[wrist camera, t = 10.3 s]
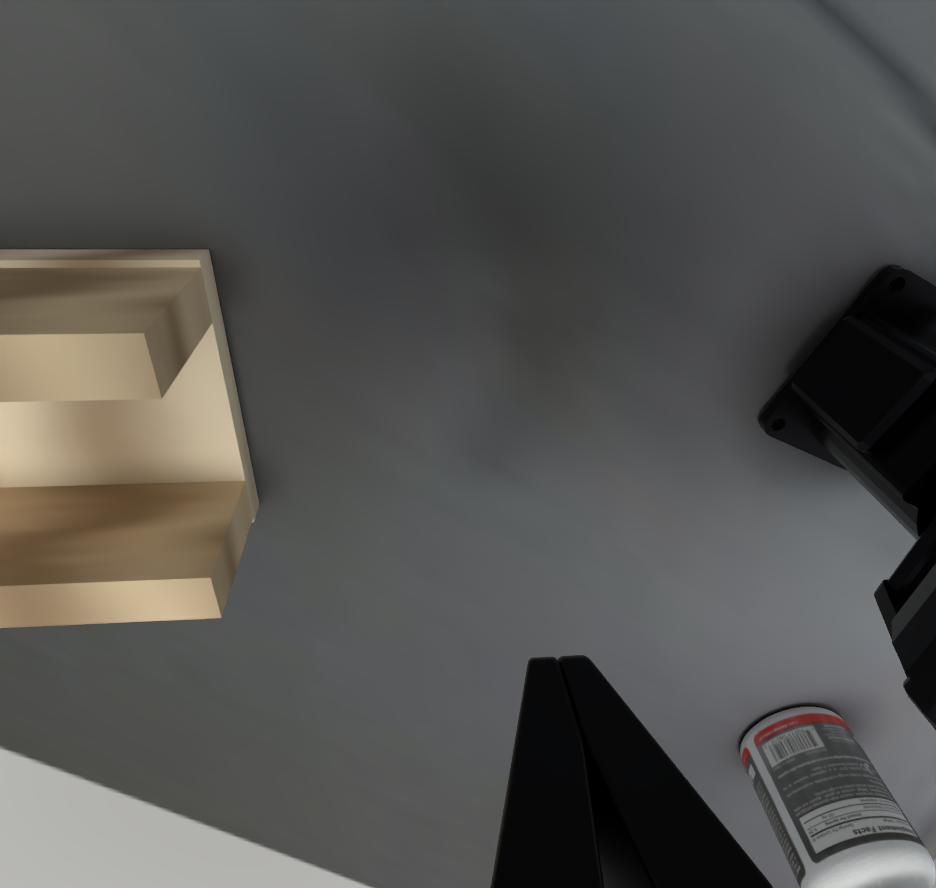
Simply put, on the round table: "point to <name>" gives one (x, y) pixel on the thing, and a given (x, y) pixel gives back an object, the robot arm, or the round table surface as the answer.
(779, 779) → the pill bottle
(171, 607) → the chute
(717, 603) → the round table surface
